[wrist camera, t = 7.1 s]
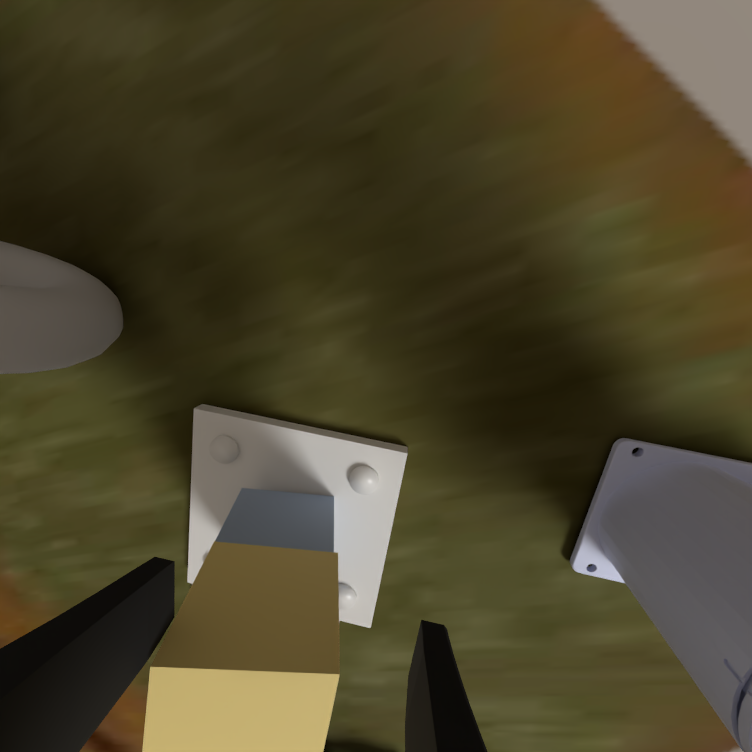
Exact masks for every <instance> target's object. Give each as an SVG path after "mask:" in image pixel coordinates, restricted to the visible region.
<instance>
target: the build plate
mask: <svg viewBox="0 0 752 752" xmlns="http://www.w3.org/2000/svg"><path fill="white" fill-rule="evenodd" d="M407 453H408V447H406V446H401V445H397V444H392V443H387V442H382V441H378V440H373V439H368V438H363V437H358V436H354V435H349V434H344V433H339V432H334V431H330V430H325V429H320V428H315V427H311V426H306V425H301V424H296V423H291V422H287V421H282V420H277V419H272V418H268V417H263V416H258V415H253V414H248V413H244V412H239V411H234V410H229V409H224V408H220V407H215V406H210V405H205V404H201V405H199V406H197V407H195V408H194V415H193V442H192V470H191V498H190V525H189V553H188V581H187V582H188V583H192V584H193V582H194V580H195V578H196V576H197V574H198V572H199V570H200V568H201V566H202V564H203V563H204V561H205V559H206V557H207V555H208V553H209V551H210V549H211V547H212V545H213V543H214V541H215V540H216V538H217V536H218V534H219V532H220V530H221V528H222V526H223V524H224V522H225V520H226V518H227V516H228V514H229V512H230V510H231V508H232V506H233V504H234V502H235V500H236V499H237V497H238V495H239V493H240V491H241V489H242V488H248V489H259V490H270V491H281V492H292V493H303V494H314V495H325V496H334V552H336V553H338V586H339V620H340V621H344V622H348V623H352V624H356V625H360V626H364V627H368V628H371V624H372V619H373V614H374V609H375V605H376V600H377V595H378V590H379V586H380V581H381V576H382V572H383V567H384V562H385V557H386V553H387V548H388V543H389V538H390V534H391V529H392V524H393V519H394V515H395V510H396V505H397V501H398V496H399V491H400V486H401V482H402V477H403V472H404V467H405V463H406V458H407Z"/></svg>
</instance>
